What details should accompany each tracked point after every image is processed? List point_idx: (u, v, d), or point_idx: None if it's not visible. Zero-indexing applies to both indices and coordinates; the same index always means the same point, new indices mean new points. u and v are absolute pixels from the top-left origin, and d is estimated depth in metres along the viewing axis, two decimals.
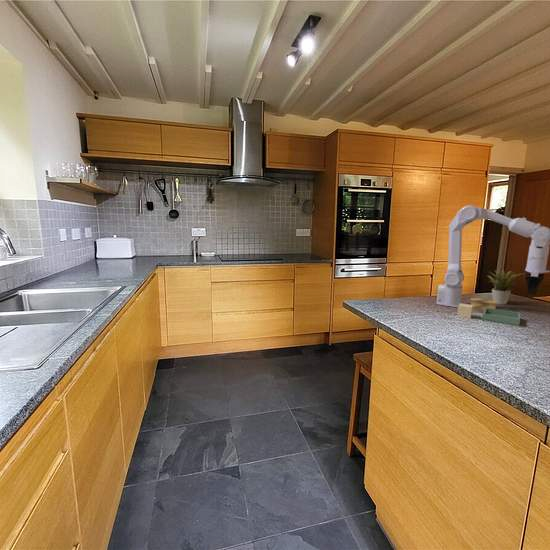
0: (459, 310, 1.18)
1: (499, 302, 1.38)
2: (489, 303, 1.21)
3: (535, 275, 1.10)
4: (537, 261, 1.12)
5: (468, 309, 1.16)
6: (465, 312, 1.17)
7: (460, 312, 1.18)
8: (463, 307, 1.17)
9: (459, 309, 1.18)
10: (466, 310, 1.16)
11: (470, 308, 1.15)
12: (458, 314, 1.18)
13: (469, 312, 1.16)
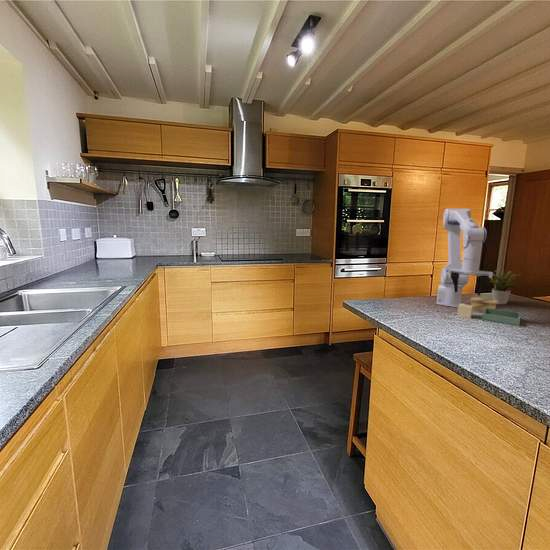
0: (459, 310, 1.18)
1: (499, 302, 1.38)
2: (489, 303, 1.21)
3: (448, 272, 1.20)
4: (462, 261, 1.17)
5: (468, 309, 1.16)
6: (465, 312, 1.17)
7: (460, 312, 1.18)
8: (463, 307, 1.17)
9: (459, 309, 1.18)
10: (466, 310, 1.16)
11: (470, 308, 1.15)
12: (458, 314, 1.18)
13: (469, 312, 1.16)
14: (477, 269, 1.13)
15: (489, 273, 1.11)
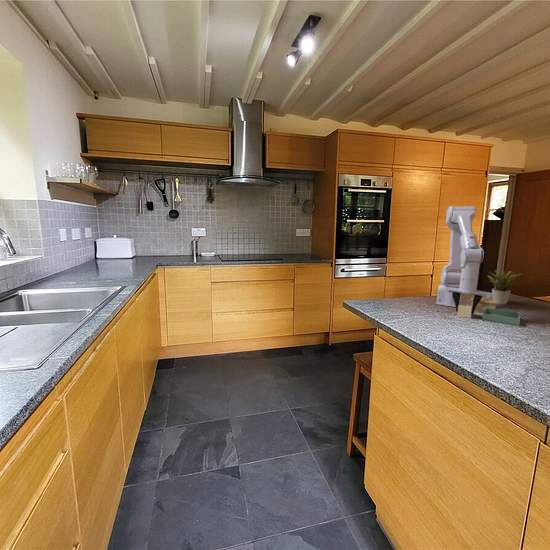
0: (459, 310, 1.18)
1: (499, 302, 1.38)
2: (489, 303, 1.21)
3: (446, 291, 1.21)
4: (460, 280, 1.18)
5: (468, 309, 1.16)
6: (465, 312, 1.16)
7: (460, 312, 1.18)
8: (463, 307, 1.17)
9: (459, 309, 1.18)
10: (466, 309, 1.16)
11: (470, 308, 1.15)
12: (458, 314, 1.18)
13: (469, 312, 1.16)
14: (474, 289, 1.14)
15: (486, 293, 1.12)
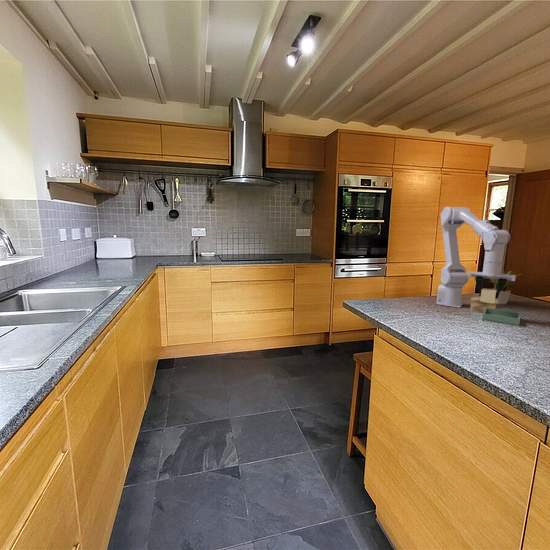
0: (482, 295, 1.14)
1: (499, 302, 1.38)
2: (489, 303, 1.21)
3: (468, 275, 1.18)
4: None
5: (492, 294, 1.12)
6: (488, 297, 1.13)
7: (483, 297, 1.14)
8: (487, 291, 1.13)
9: (482, 294, 1.14)
10: (490, 294, 1.12)
11: (494, 292, 1.11)
12: (481, 299, 1.14)
13: (493, 296, 1.12)
14: (499, 272, 1.11)
15: (512, 276, 1.09)
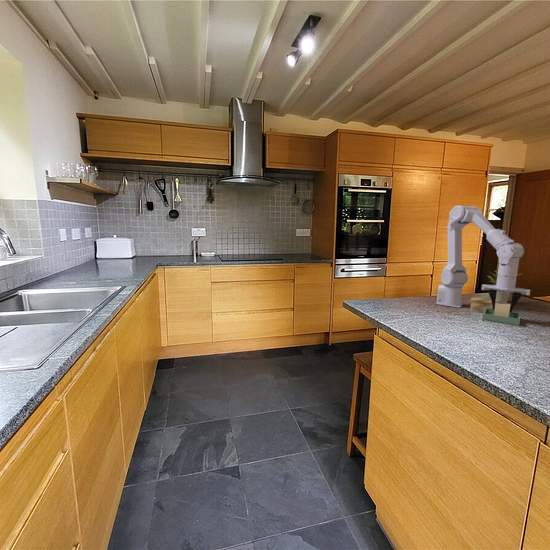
0: (496, 308, 1.13)
1: None
2: (489, 303, 1.21)
3: None
4: (497, 277, 1.14)
5: (506, 308, 1.11)
6: (502, 311, 1.12)
7: (497, 310, 1.13)
8: (501, 305, 1.12)
9: (496, 307, 1.13)
10: (504, 308, 1.11)
11: (508, 306, 1.11)
12: (495, 313, 1.14)
13: (507, 310, 1.11)
14: (513, 286, 1.10)
15: (526, 291, 1.08)
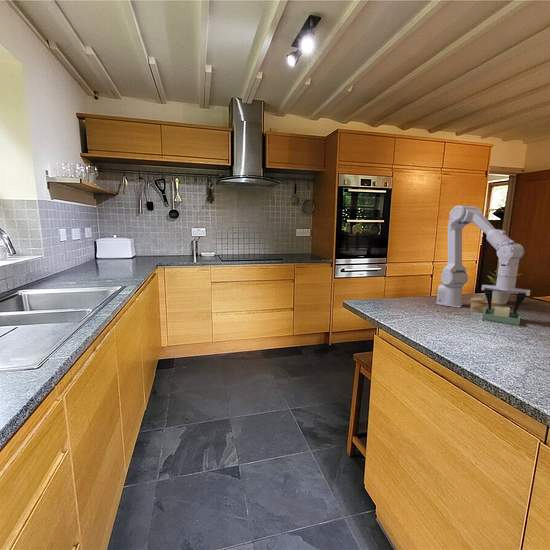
0: (496, 312, 1.13)
1: (499, 302, 1.38)
2: None
3: None
4: (497, 277, 1.14)
5: (506, 311, 1.11)
6: (502, 315, 1.12)
7: (496, 314, 1.13)
8: (500, 309, 1.12)
9: (496, 311, 1.13)
10: (504, 312, 1.12)
11: (508, 310, 1.11)
12: None
13: (507, 314, 1.11)
14: (513, 287, 1.10)
15: (526, 291, 1.08)
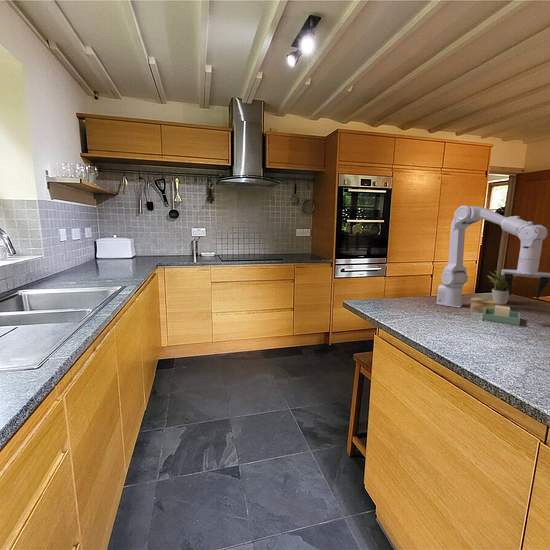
0: (496, 312, 1.13)
1: (499, 302, 1.38)
2: (489, 303, 1.21)
3: (501, 273, 1.11)
4: (518, 261, 1.08)
5: (506, 311, 1.11)
6: (502, 315, 1.12)
7: (496, 314, 1.13)
8: (500, 309, 1.12)
9: (496, 311, 1.13)
10: (504, 312, 1.12)
11: (508, 310, 1.11)
12: None
13: (507, 314, 1.11)
14: (536, 270, 1.04)
15: None
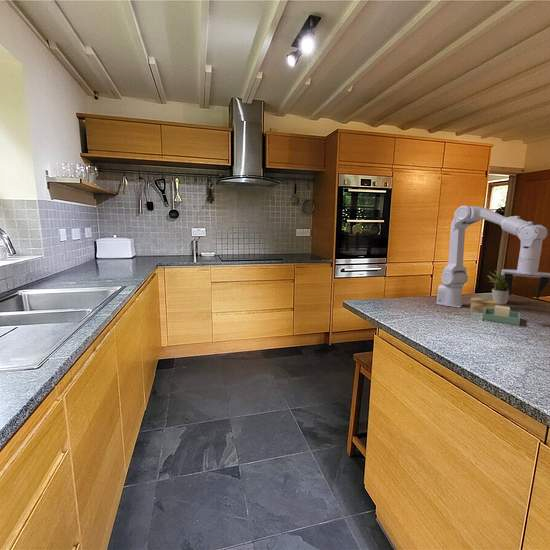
0: (496, 312, 1.13)
1: (499, 302, 1.38)
2: (489, 303, 1.21)
3: (501, 273, 1.11)
4: (518, 261, 1.08)
5: (506, 311, 1.11)
6: (502, 315, 1.12)
7: (496, 314, 1.13)
8: (500, 309, 1.12)
9: (496, 311, 1.13)
10: (504, 312, 1.12)
11: (508, 310, 1.11)
12: None
13: (507, 314, 1.11)
14: (536, 270, 1.04)
15: None
